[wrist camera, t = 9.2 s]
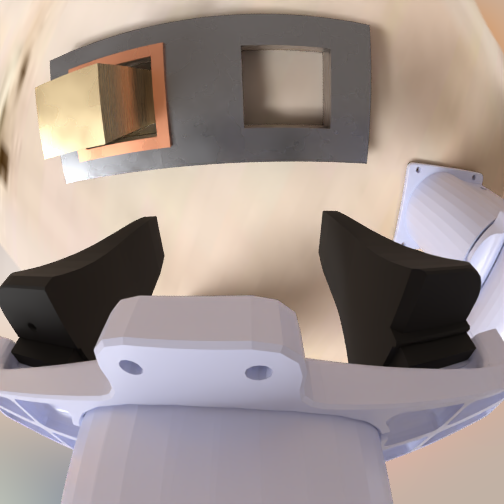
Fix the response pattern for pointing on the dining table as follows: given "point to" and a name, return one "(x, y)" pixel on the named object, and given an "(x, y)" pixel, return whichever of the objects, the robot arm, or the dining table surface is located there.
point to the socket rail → (229, 94)
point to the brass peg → (93, 107)
